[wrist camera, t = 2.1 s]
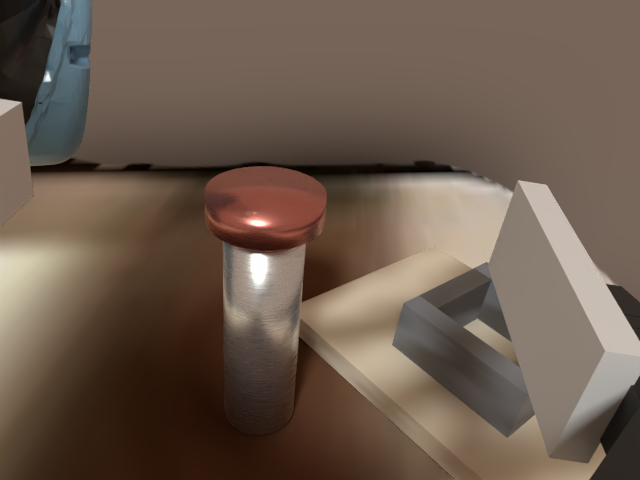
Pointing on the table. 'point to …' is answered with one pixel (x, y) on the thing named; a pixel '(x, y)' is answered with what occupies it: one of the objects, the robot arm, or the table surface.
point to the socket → (438, 366)
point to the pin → (262, 286)
